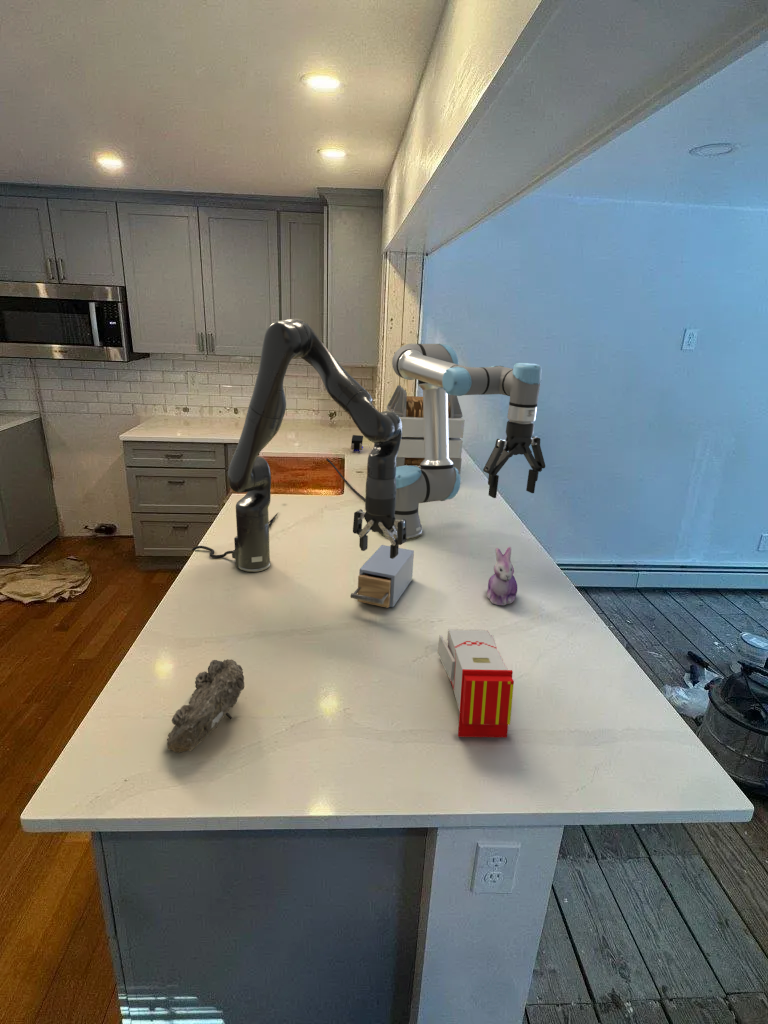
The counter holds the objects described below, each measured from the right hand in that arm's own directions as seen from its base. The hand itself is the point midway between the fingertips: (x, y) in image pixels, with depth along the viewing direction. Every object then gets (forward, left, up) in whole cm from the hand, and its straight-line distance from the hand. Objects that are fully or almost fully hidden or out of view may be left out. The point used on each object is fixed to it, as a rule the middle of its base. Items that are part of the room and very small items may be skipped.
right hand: (511, 494), depth 164 cm
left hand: (-7, -44, -10) cm, 45 cm away
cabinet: (-13, -35, -26) cm, 45 cm away
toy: (+32, -51, -26) cm, 65 cm away
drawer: (-10, -40, -25) cm, 48 cm away
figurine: (+10, -12, -26) cm, 30 cm away
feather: (-81, -30, -26) cm, 90 cm away
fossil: (+7, -96, -26) cm, 99 cm away
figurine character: (-146, +59, -26) cm, 160 cm away
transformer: (-95, +57, -26) cm, 114 cm away
